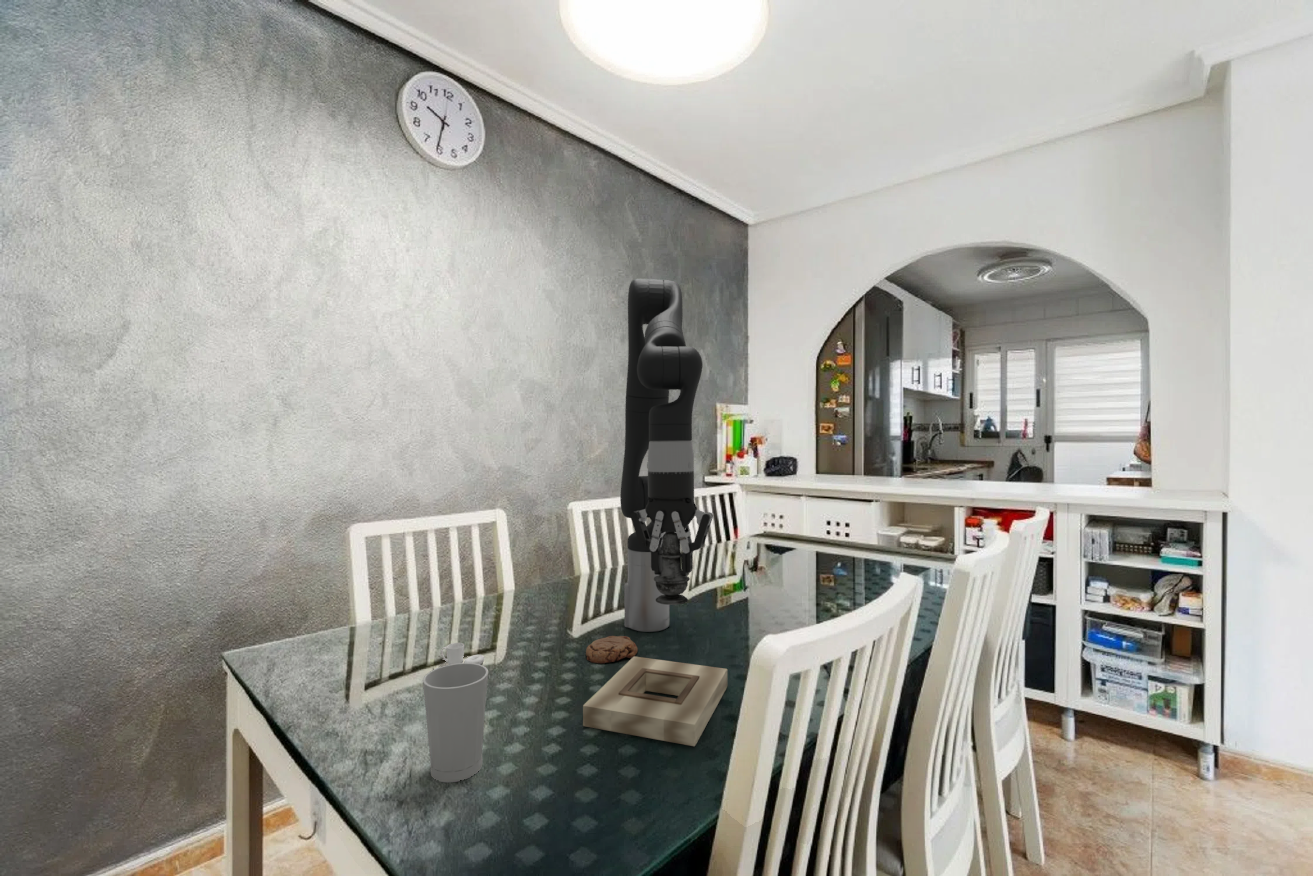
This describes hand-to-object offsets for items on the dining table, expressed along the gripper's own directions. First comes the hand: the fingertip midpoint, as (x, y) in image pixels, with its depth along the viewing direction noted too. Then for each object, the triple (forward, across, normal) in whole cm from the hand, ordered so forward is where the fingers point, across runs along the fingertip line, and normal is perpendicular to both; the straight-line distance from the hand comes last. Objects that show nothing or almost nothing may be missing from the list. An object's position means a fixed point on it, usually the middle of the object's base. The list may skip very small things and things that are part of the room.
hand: (671, 574), depth 96 cm
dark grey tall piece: (+4, 0, 0) cm, 4 cm away
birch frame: (+20, +1, +3) cm, 20 cm away
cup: (+20, +20, +28) cm, 40 cm away
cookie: (+20, +17, -14) cm, 30 cm away
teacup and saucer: (+20, +40, +2) cm, 45 cm away
